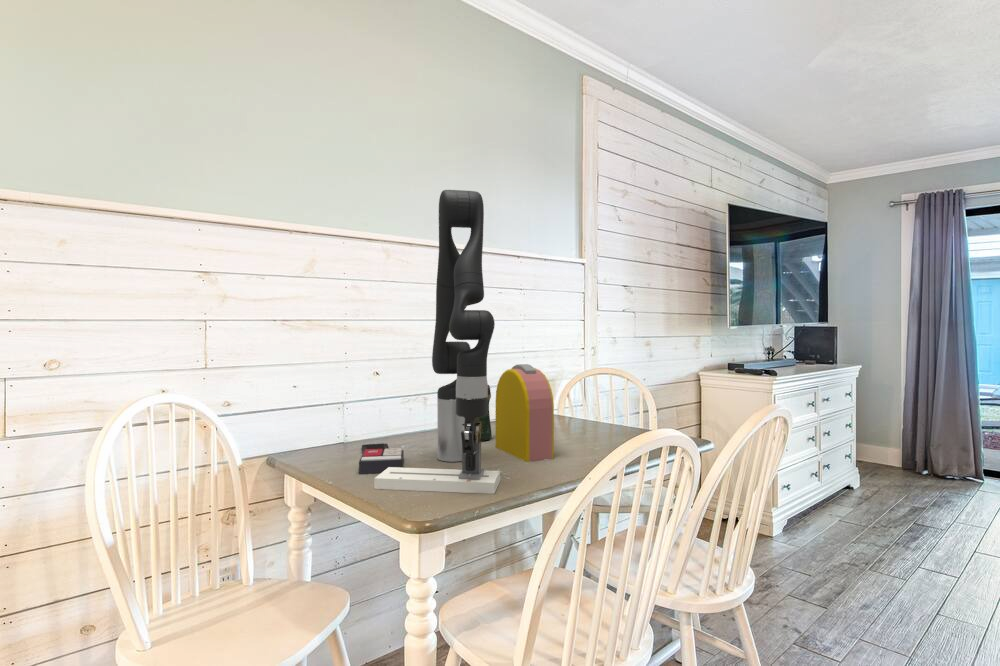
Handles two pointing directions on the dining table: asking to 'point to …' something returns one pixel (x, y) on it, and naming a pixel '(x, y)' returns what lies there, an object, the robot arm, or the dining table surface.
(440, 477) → the fader console
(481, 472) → the fader tab
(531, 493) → the dining table surface
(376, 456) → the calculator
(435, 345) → the robot arm
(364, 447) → the phone
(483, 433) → the coffee jar
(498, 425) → the lunch box
